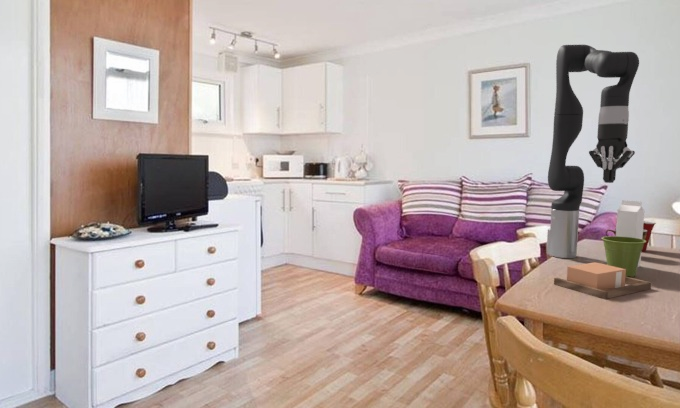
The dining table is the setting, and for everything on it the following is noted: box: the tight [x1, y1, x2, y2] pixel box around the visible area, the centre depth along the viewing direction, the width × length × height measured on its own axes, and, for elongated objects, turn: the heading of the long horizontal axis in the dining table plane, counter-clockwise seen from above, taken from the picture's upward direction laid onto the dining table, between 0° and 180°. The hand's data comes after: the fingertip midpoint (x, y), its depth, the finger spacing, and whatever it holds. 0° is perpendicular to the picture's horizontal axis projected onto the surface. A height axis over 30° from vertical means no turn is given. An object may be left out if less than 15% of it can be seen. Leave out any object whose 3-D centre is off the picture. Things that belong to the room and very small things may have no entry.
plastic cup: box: [641, 220, 657, 252], centre depth 179 cm, size 11×11×12 cm
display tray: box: [553, 276, 652, 300], centre depth 129 cm, size 15×20×2 cm
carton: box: [566, 262, 626, 290], centre depth 128 cm, size 9×12×6 cm
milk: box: [615, 199, 645, 268], centre depth 152 cm, size 6×6×22 cm
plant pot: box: [601, 235, 646, 278], centre depth 142 cm, size 12×12×11 cm
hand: (608, 182), depth 134 cm, fingers closed
